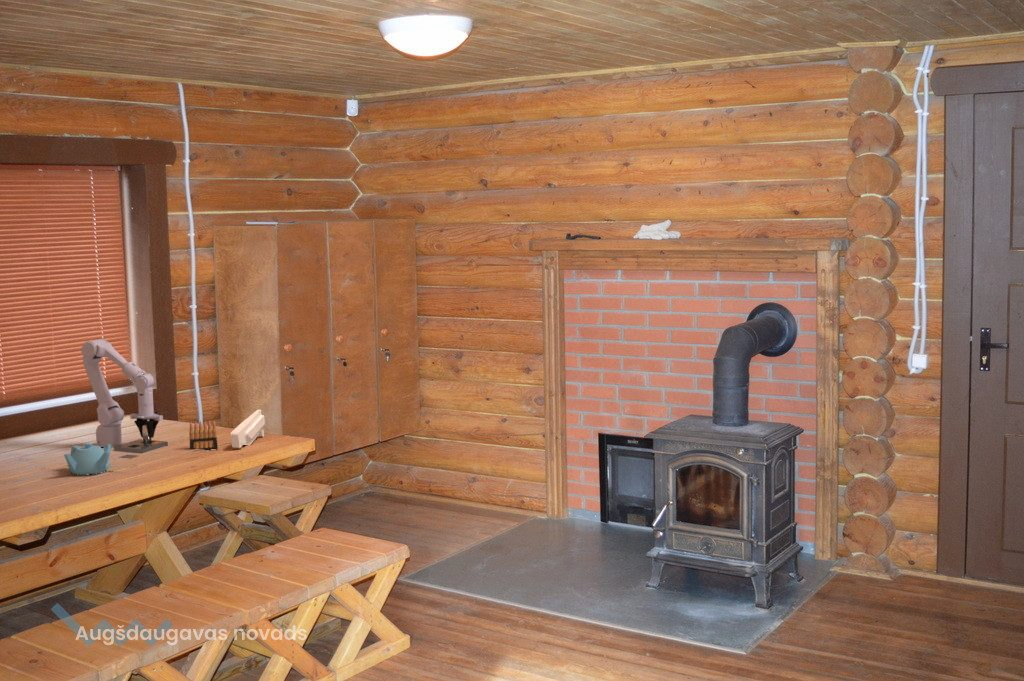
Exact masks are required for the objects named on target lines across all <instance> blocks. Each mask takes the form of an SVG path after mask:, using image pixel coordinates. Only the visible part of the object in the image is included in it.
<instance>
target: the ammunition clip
mask: <svg viewBox="0 0 1024 681" xmlns="http://www.w3.org/2000/svg"><path fill="white" fill-rule="evenodd" d="M211 423H212V424H211ZM216 425H217V424H216V421H215V420H212V422H211V421H210V420H208V424H207V422H206V420H204V422H203V423H202V421H199V424H198V423H197V421H194V426H193V422H192V421H190V423H189V450H192V451H193V450H209V451H212V450H211V449H218V437H217V433H218V432H217V426H216Z"/></svg>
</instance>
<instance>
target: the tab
mask: <svg viewBox="0 0 1024 681" xmlns="http://www.w3.org/2000/svg"><path fill="white" fill-rule="evenodd" d="M138 457H139V455H137V454H125V455H122V456H118V458H120V459H121V458H122V459H134V458H138Z"/></svg>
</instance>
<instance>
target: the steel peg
mask: <svg viewBox="0 0 1024 681" xmlns="http://www.w3.org/2000/svg"><path fill="white" fill-rule="evenodd" d="M142 434H143V437H142V439H143V442H144V443H148V442H151V441H152V440H153V439H152V438H149V436H148V428H147V425H146V424H143V425H142Z"/></svg>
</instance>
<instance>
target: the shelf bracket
mask: <svg viewBox="0 0 1024 681" xmlns="http://www.w3.org/2000/svg"><path fill="white" fill-rule="evenodd" d="M265 417H266V416H265V415H264V414H263V415H262V409H256V410H255V411H254V412H253V413H252V414H250V415H249V416H248V417H247V418H245V419H244V420H243V421H242V422H241V423H239V425H237V426H236V427H235V428H234V429H233V430H232V431H231V432H230V441H231V442H230V443H231V447H232V448H235V449H237V448H239V449H240V448H241V449H242V447H244V446H243V445H249V446H250V445H251V444H252V443H253V442H254V441H255V440H256V439H257V437H258V436H259V437H260V438H265V432H264V425H265V424H266V419H265Z"/></svg>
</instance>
